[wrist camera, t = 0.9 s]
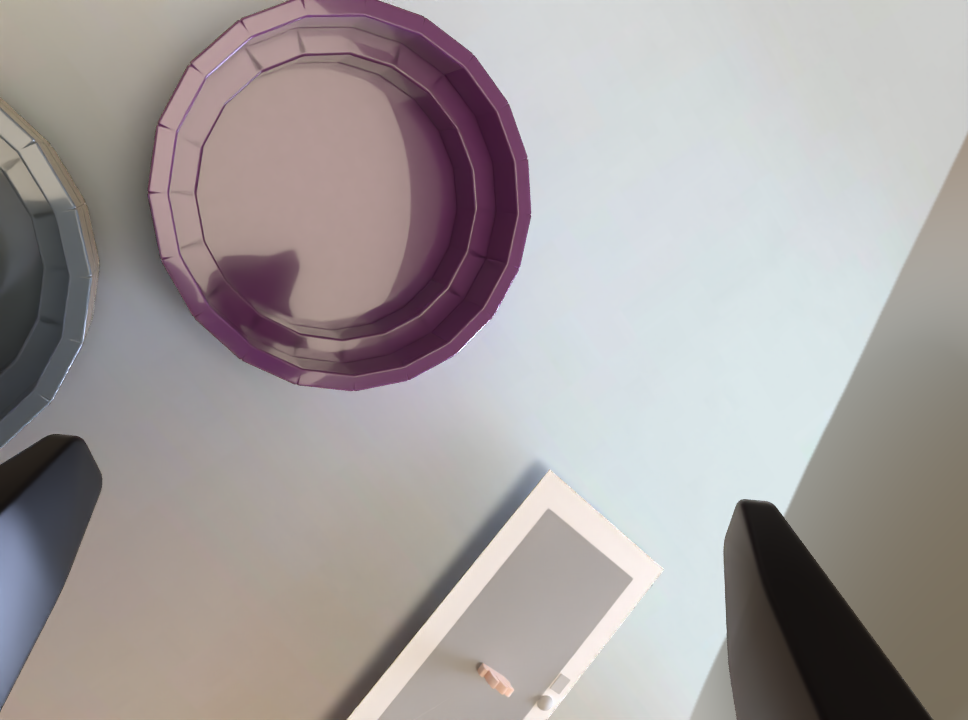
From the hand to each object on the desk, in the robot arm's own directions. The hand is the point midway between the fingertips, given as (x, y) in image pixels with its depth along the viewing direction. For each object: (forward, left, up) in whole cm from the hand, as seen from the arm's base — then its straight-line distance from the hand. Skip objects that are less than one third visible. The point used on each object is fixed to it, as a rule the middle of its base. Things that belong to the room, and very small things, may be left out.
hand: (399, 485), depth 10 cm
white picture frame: (-4, -16, -15) cm, 23 cm away
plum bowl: (+4, +1, -15) cm, 16 cm away
